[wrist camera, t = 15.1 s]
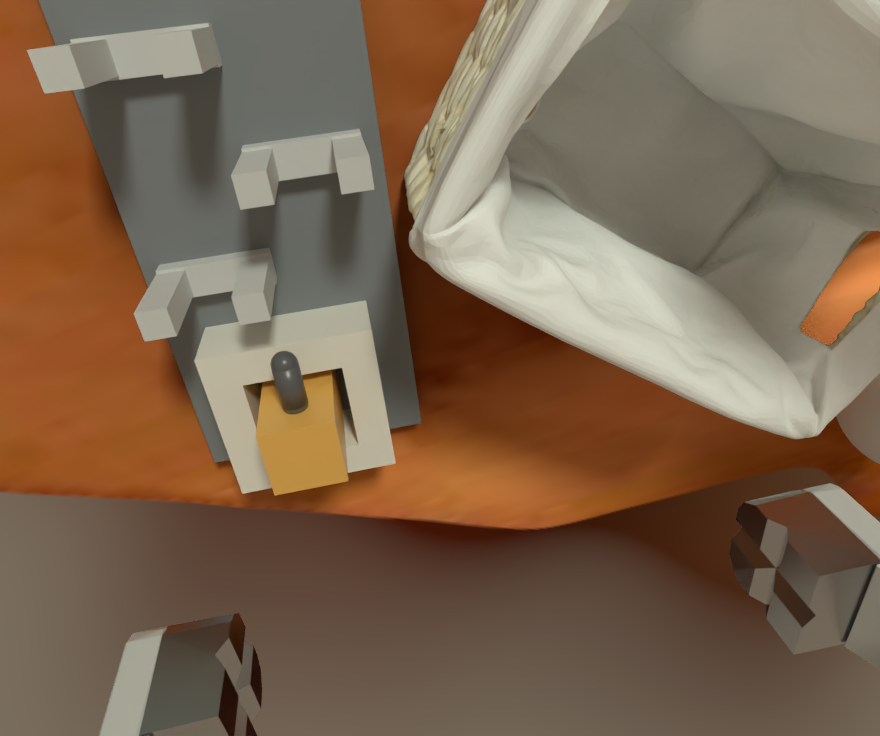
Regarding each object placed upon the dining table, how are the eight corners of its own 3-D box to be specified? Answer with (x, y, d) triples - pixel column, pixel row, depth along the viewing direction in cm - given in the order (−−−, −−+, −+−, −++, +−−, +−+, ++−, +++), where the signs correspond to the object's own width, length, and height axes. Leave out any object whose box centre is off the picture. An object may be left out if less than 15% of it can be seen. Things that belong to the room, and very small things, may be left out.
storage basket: (367, 177, 35) (399, 273, 22) (517, -136, 29) (676, -243, 16) (668, 331, 44) (810, 459, 32) (829, 117, 38) (1083, 171, 26)
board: (326, -215, 26) (331, -285, 20) (418, 410, 43) (436, 480, 37) (-19, -186, 25) (-132, -252, 18) (217, 448, 42) (201, 527, 36)
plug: (319, 298, 36) (321, 365, 29) (342, 400, 40) (348, 480, 33) (251, 309, 36) (237, 380, 29) (280, 412, 40) (274, 495, 33)
